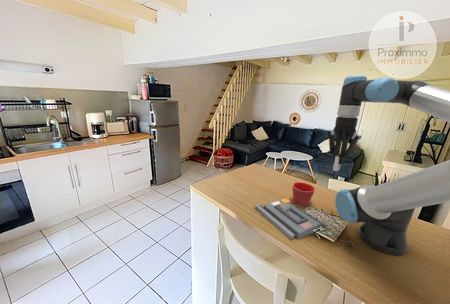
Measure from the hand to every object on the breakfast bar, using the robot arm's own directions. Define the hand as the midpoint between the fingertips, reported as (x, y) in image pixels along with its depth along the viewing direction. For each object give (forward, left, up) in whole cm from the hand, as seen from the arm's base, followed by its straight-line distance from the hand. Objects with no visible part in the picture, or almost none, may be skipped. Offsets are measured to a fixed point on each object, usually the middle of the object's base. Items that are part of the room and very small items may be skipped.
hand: (336, 170), depth 82 cm
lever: (+10, +18, -21) cm, 29 cm away
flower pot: (+14, +1, -24) cm, 28 cm away
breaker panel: (+6, +18, -24) cm, 31 cm away
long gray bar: (+6, +9, -24) cm, 27 cm away
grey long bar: (+8, +26, -24) cm, 37 cm away
